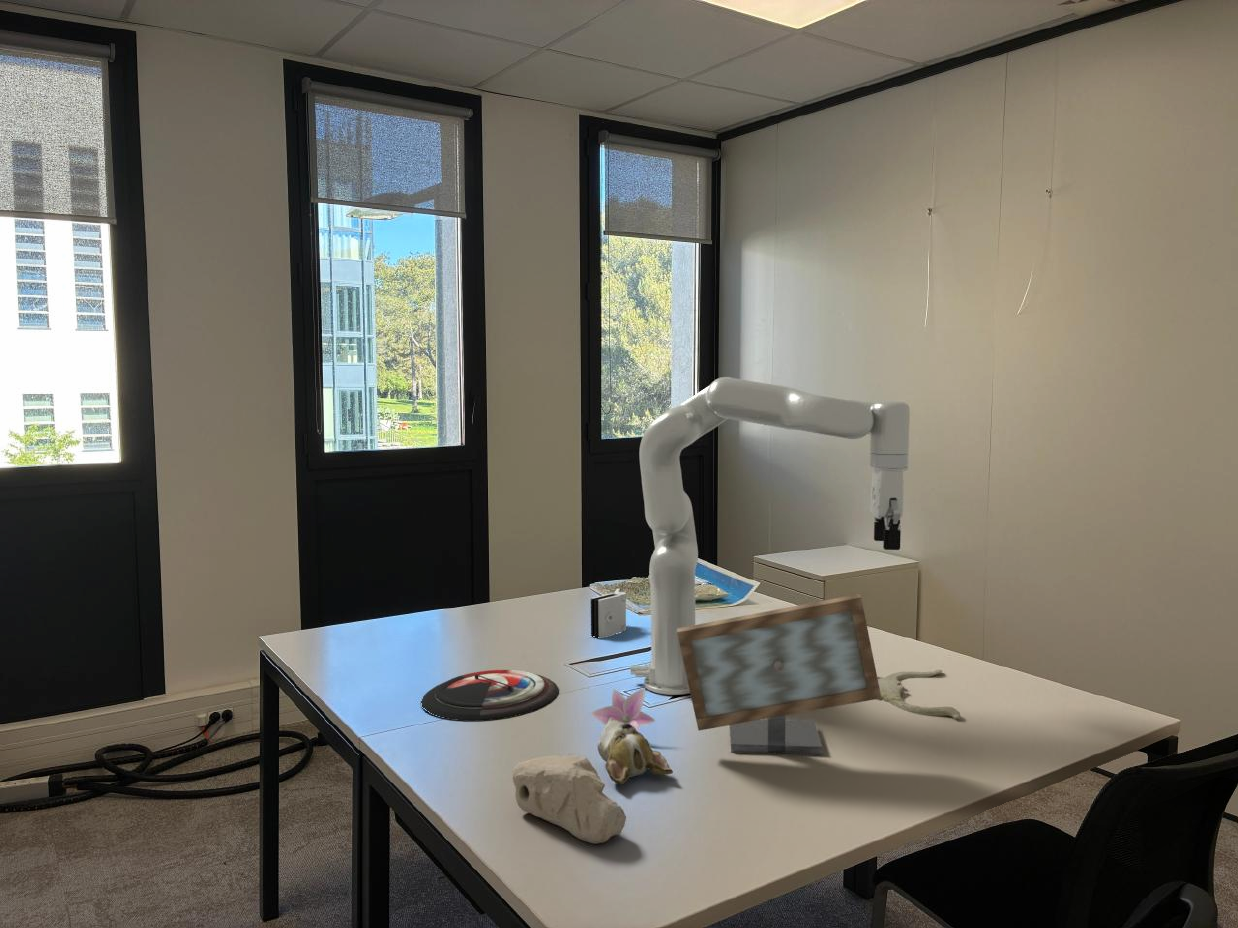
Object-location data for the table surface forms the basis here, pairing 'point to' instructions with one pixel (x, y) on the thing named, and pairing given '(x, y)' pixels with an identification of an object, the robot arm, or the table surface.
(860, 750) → the table surface
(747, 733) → the frame stand
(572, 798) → the decorative stone
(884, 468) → the robot arm
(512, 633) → the table surface
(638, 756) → the ceramic sculpture
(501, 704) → the wall clock
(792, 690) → the picture frame
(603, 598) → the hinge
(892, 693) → the decorative wall piece
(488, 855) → the table surface
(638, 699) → the lily
